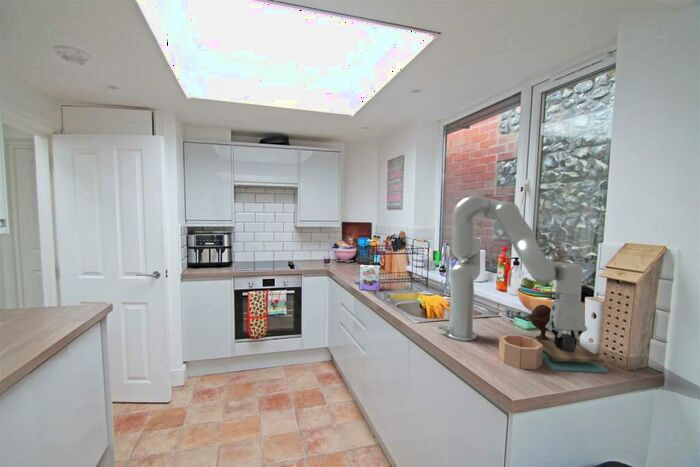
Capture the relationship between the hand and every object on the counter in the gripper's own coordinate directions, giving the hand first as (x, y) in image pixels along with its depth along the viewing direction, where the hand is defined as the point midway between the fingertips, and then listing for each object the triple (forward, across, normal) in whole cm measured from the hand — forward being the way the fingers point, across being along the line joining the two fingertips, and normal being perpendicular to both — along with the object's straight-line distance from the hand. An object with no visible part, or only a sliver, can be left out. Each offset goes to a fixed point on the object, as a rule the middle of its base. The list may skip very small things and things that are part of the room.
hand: (565, 346), depth 118 cm
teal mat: (+5, 0, 0) cm, 5 cm away
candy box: (+5, -72, +98) cm, 121 cm away
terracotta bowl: (+5, -17, -3) cm, 18 cm away
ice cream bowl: (+5, +2, +19) cm, 20 cm away
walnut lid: (+2, 0, 0) cm, 2 cm away
